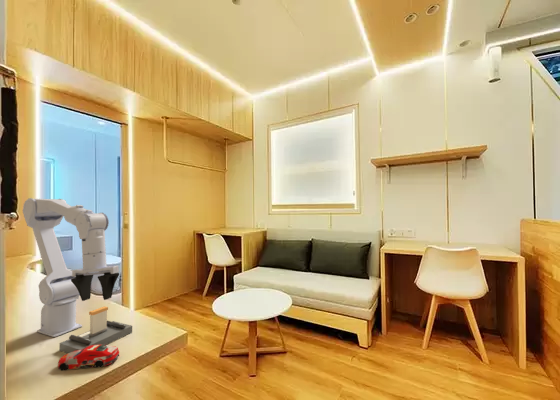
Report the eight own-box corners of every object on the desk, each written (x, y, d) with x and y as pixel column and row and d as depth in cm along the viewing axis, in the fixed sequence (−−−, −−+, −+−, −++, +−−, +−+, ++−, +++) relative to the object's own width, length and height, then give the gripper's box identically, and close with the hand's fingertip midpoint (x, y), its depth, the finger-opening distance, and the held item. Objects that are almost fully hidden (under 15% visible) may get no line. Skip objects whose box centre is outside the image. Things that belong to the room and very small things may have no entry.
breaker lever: (88, 336, 75) (88, 312, 75) (104, 329, 79) (105, 306, 79) (91, 337, 74) (92, 312, 74) (108, 330, 79) (108, 306, 79)
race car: (51, 373, 62) (52, 356, 62) (67, 359, 68) (67, 344, 68) (110, 368, 64) (111, 351, 64) (121, 356, 69) (121, 340, 69)
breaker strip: (59, 350, 71) (59, 338, 71) (112, 327, 85) (113, 317, 85) (80, 357, 68) (80, 345, 68) (132, 332, 82) (132, 321, 82)
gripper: (60, 257, 76) (63, 304, 75) (103, 253, 73) (106, 302, 72) (83, 253, 83) (85, 297, 82) (123, 249, 80) (125, 294, 79)
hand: (96, 299), depth 77 cm, fingers open, 7 cm apart
